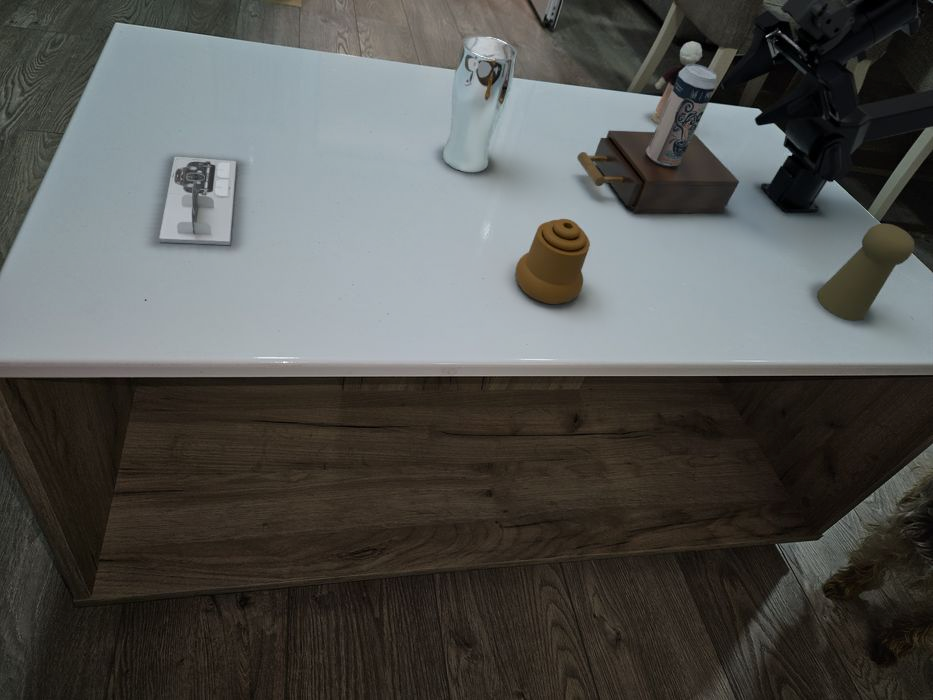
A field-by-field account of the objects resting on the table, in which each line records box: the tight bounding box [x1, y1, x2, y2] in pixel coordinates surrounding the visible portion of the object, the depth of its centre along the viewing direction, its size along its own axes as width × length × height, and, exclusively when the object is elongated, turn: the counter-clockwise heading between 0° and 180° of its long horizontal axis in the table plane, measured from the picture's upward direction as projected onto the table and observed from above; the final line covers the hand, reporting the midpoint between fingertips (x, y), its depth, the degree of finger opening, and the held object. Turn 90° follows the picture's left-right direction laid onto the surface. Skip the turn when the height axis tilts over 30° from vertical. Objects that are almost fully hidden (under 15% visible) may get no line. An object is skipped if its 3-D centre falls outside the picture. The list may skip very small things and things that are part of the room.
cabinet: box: [605, 129, 740, 214], centre depth 94 cm, size 14×12×5 cm
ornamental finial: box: [515, 218, 591, 305], centre depth 73 cm, size 8×8×8 cm
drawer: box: [576, 137, 645, 207], centre depth 93 cm, size 18×11×3 cm, turn 107°
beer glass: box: [442, 34, 518, 173], centre depth 86 cm, size 7×7×15 cm
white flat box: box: [158, 155, 237, 246], centre depth 72 cm, size 15×7×4 cm, turn 11°
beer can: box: [646, 63, 717, 167], centre depth 87 cm, size 5×5×12 cm
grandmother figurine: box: [650, 40, 703, 125], centre depth 107 cm, size 8×4×13 cm, turn 115°
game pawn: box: [816, 222, 915, 322], centre depth 81 cm, size 6×6×11 cm
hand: (738, 103), depth 87 cm, fingers open, 9 cm apart
